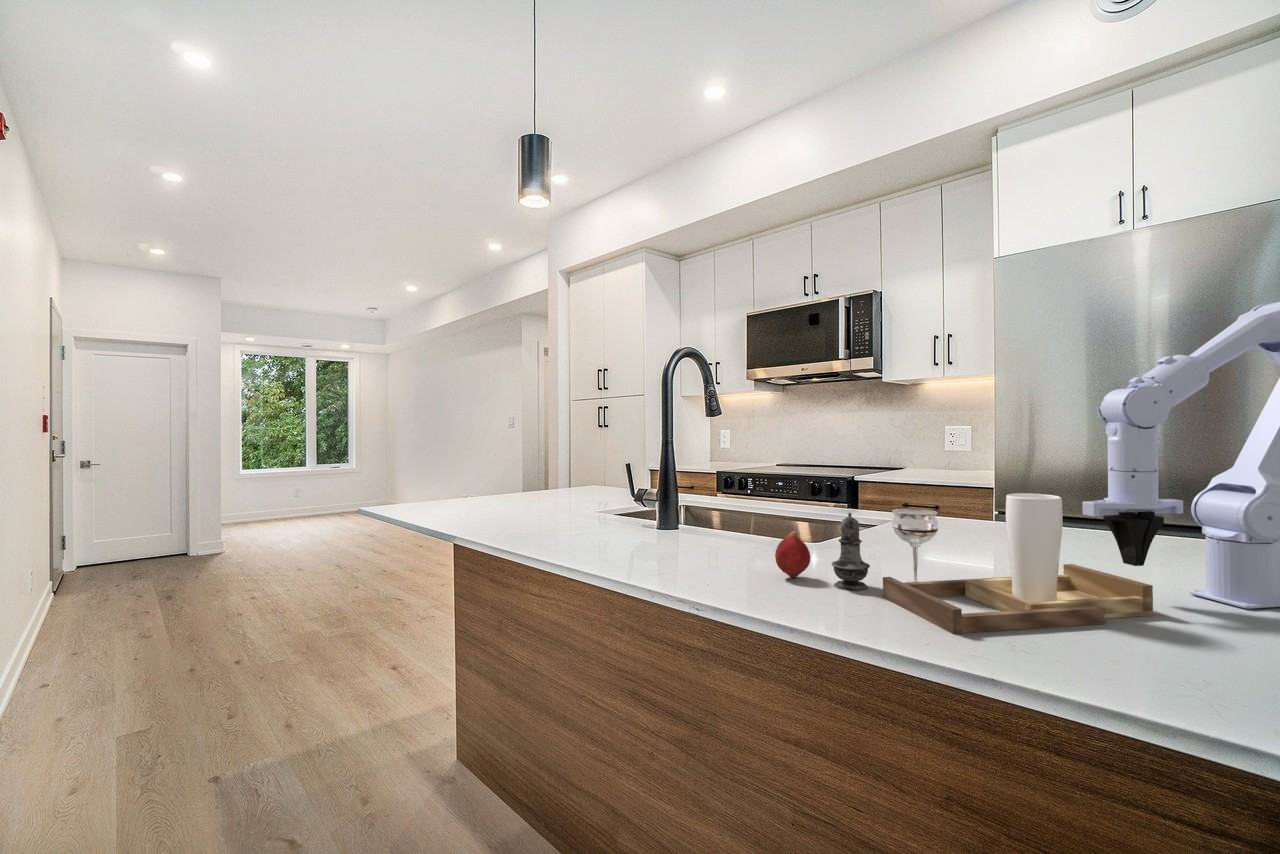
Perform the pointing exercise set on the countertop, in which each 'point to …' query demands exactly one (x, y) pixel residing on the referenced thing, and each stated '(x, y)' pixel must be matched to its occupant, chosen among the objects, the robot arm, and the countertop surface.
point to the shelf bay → (951, 618)
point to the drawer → (1072, 593)
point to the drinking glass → (1034, 544)
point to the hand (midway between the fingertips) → (1133, 564)
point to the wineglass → (915, 529)
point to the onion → (792, 555)
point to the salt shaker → (850, 558)
